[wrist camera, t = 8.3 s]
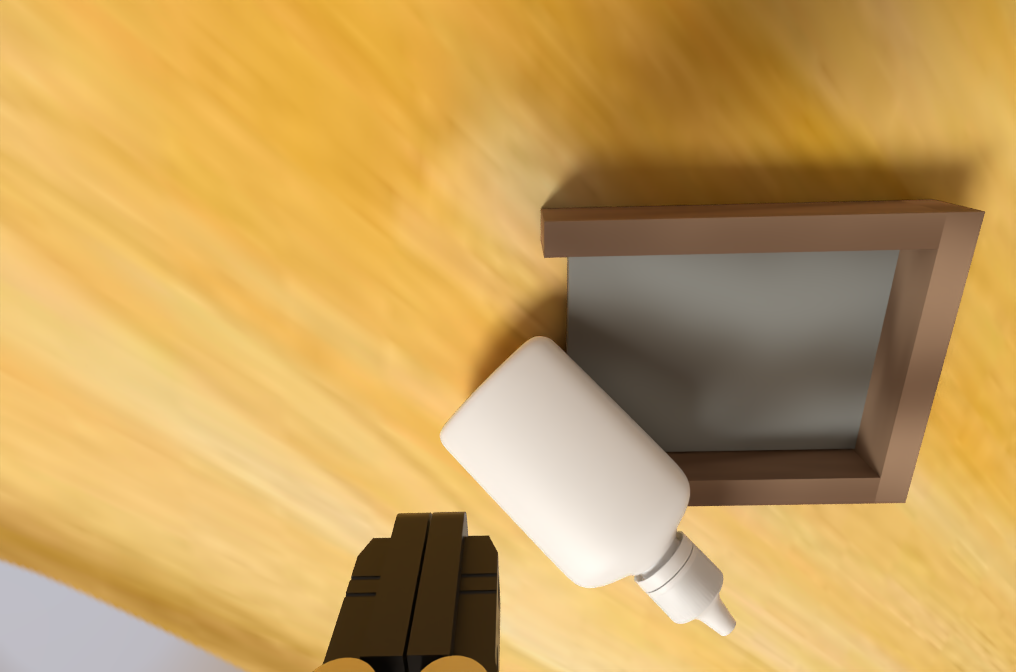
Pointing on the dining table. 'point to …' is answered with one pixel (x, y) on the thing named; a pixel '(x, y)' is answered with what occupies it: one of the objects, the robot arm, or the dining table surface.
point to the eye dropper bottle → (584, 481)
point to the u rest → (770, 336)
